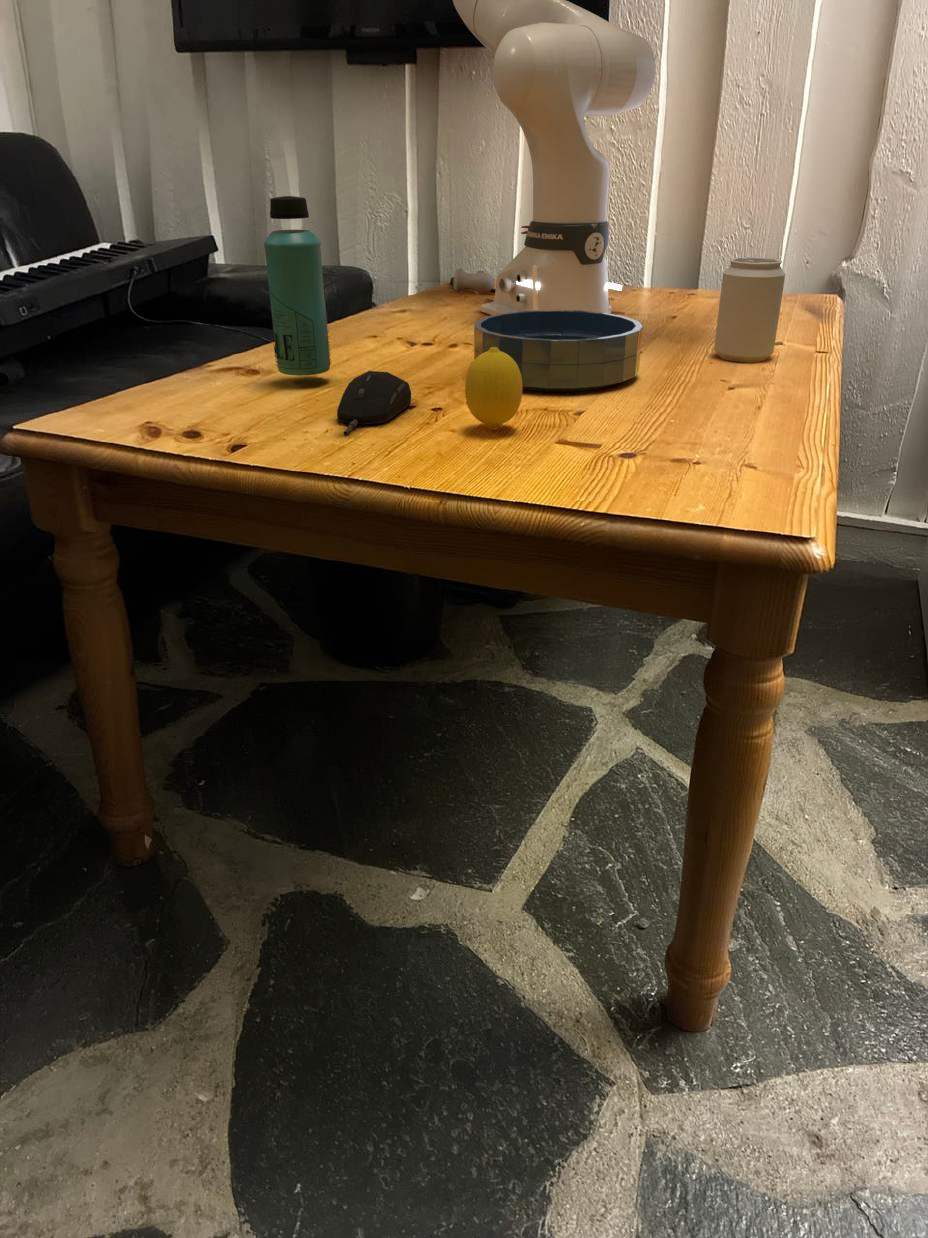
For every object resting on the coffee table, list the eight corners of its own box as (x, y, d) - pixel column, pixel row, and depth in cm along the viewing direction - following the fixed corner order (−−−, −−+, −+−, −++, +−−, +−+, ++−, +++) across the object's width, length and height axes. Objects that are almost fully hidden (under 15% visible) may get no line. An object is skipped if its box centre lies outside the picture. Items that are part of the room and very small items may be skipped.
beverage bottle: (342, 377, 109) (329, 194, 99) (316, 391, 103) (300, 198, 94) (294, 374, 111) (277, 193, 101) (266, 386, 105) (245, 197, 96)
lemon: (463, 423, 91) (462, 341, 88) (517, 421, 92) (519, 340, 88) (467, 439, 87) (467, 353, 83) (525, 437, 87) (527, 352, 83)
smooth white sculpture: (498, 299, 168) (486, 293, 164) (460, 295, 171) (447, 289, 167) (502, 274, 167) (490, 268, 163) (464, 271, 170) (451, 265, 166)
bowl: (442, 371, 112) (441, 321, 109) (563, 351, 122) (565, 304, 119) (545, 404, 97) (547, 347, 95) (672, 378, 107) (677, 326, 105)
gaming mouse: (315, 433, 89) (311, 392, 87) (365, 395, 101) (363, 359, 99) (376, 437, 87) (373, 395, 85) (419, 398, 100) (418, 362, 98)
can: (775, 364, 114) (791, 262, 108) (714, 362, 115) (726, 261, 110) (770, 352, 120) (784, 255, 115) (712, 350, 122) (723, 254, 116)
